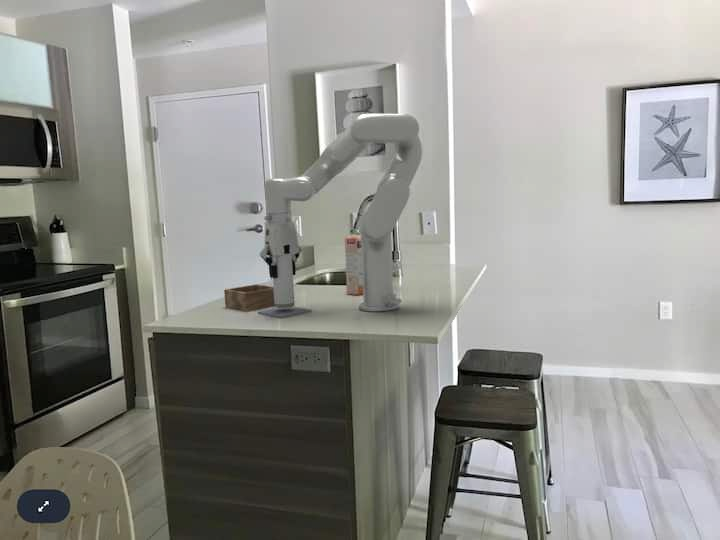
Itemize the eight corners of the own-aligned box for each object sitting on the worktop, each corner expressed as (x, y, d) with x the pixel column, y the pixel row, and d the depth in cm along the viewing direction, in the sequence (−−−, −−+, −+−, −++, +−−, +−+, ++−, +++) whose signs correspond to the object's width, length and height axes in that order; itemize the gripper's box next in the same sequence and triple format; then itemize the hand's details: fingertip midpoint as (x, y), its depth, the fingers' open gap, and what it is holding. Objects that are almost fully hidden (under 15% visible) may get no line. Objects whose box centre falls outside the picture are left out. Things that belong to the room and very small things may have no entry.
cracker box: (359, 295, 206) (357, 237, 203) (346, 294, 210) (343, 237, 207) (380, 289, 218) (378, 234, 215) (367, 288, 221) (364, 234, 218)
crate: (279, 305, 195) (278, 287, 194) (247, 311, 186) (245, 293, 186) (257, 301, 205) (256, 284, 204) (225, 307, 196) (224, 289, 195)
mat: (311, 311, 182) (311, 309, 182) (280, 318, 174) (280, 316, 174) (288, 307, 191) (288, 305, 191) (258, 313, 183) (258, 311, 183)
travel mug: (299, 305, 183) (296, 242, 180) (283, 308, 178) (279, 243, 175) (286, 303, 187) (283, 241, 184) (270, 306, 182) (266, 243, 180)
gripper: (263, 220, 170) (267, 281, 172) (308, 217, 182) (311, 273, 184) (248, 220, 175) (252, 279, 178) (294, 217, 187) (297, 272, 190)
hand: (282, 275), depth 181 cm, fingers closed on travel mug, 6 cm apart
